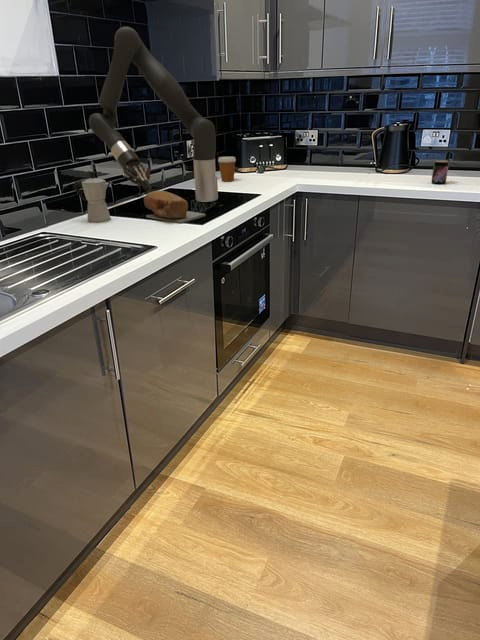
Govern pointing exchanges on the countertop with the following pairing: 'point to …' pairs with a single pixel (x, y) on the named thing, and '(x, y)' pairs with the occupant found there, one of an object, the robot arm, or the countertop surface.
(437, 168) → the supplement container
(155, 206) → the block
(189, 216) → the mat
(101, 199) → the coffee maker
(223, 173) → the disposable coffee cup
